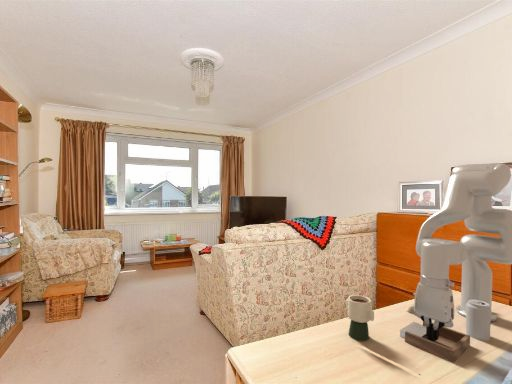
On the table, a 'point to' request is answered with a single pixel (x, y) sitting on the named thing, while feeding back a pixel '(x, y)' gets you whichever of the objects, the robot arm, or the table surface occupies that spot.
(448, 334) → the walnut box
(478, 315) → the beverage can
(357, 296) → the character mug
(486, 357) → the table surface
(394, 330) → the table surface
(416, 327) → the concrete block
